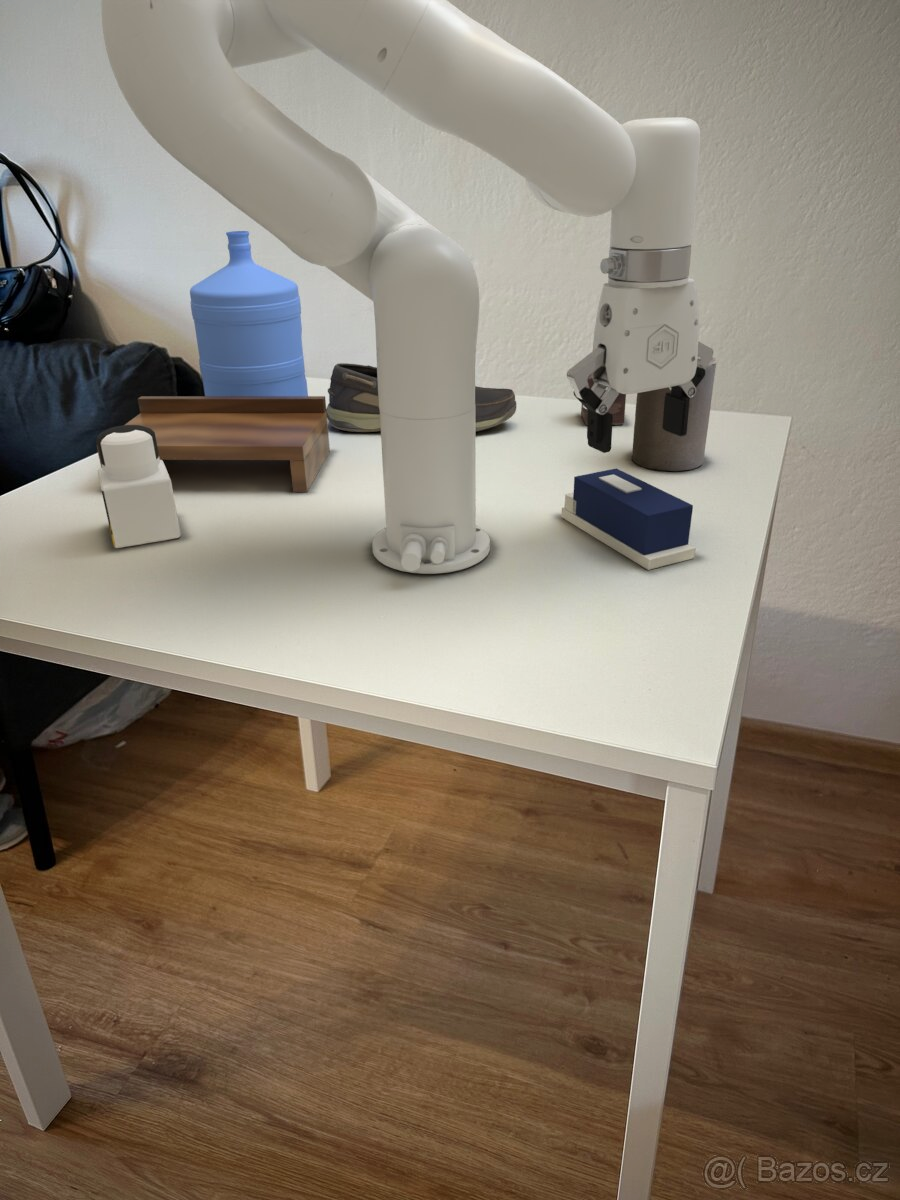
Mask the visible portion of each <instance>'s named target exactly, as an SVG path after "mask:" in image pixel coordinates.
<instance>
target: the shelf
mask: <svg viewBox="0 0 900 1200" xmlns="http://www.w3.org/2000/svg"><path fill="white" fill-rule="evenodd" d="M137 403H138V409H139V414H137V415H136V416H135V417H133V418H132V419H130V420H129V421H127V422H126V423H125V424H124V425H141V426H144V427H148V428H150V429H152V430H153V431H154V432H155V436H156V442H157V447H158V453H159V458H160V460H162V461H163V460H165V461H166V460H168V461H185V460H186V461H204V460H205V461H289V464H290V475H291V484H292V485H291V486H292V492H293V493H308V491H309V490H310V487H311V486H312V484H313V482H314V481H315V479H316V477H317V475H318V474H319V472H320V469H321V468H322V466H323V465H324V463H325V461H326V459H327V458H328V456H329V454H330V452H331V450H330V437H329V427H328V419H327V413H326V409H327V401H326V396H324V395H308V396H205V395H204V396H202V395H201V396H200V395H199V396H197V395H194V396H193V395H191V396H190V395H189V396H188V395H187V396H184V395H183V396H181V395H179V396H177V395H174V396H172V395H171V396H170V395H169V396H168V395H166V396H165V395H164V396H163V395H160V396H157V395H155V396H153V395H150V396H146V395H145V396H144V395H143V396H140V397H138V398H137ZM96 451H97V455H98V459H99V463H100V468H102V464H101V460H100V455H99V451H98V446H97V445H96Z"/></svg>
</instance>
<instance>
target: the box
mask: <svg viewBox="0 0 900 1200" xmlns="http://www.w3.org/2000/svg"><path fill="white" fill-rule="evenodd" d="M587 381H588V384H589V385H588V386H589V388H590V389H591V388H592V386H593V385H594V382H593V378H592V374H591V375H589V377H588V380H587ZM605 391H606V390H605ZM605 391H604V392H603V394H604V393H605ZM603 394H602V395H601V397H602V396H603ZM601 397H600V399H601ZM626 400H627V394H622V393H619V395H618V396H617V398H616V399H615V401H614V402H613V404H612V405H611V407H610V408H609V410H608V411H607V412H608V413H611V414H612V416H613V422H612V425H616V426H617V425H624V424H625V416H626V415H625V413H626V402H627V401H626ZM580 416H581V417H582V419H583V422H584V424H585V425H586V426H587V421H588V409H585V408H584V407H583V404H582V403H581V409H580Z"/></svg>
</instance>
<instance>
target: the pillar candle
mask: <svg viewBox="0 0 900 1200" xmlns="http://www.w3.org/2000/svg"><path fill="white" fill-rule="evenodd" d="M717 363H718V360H717V359H716V357H714V356H712V358H711V360H710V362H709V364H708V367H707V369H705V376H704V378H703V379H702V381H701V382H700V383H699V384H698V386H697V387H696V394H695V395H694V396H693V397H692V398H690V403H689V413H688V424H687V434H686V435H685V436H678V435H676V434H673V433H670V432H668V431H665V430H664V429H663V427H662V425H663V413H664V400H665V396H666V393H667V392H671V390H670V389H669V387H667V388H662V389H657V390H651V391H646V392H640V393H636V403H635V412H634V413H635V414H634V426H633V439H632V451H631V452H632V455H630V458H631V461H633V462H634V463H635V464H637V466H640V467H642V468H645V469H651V470H657V471H665V472H667V471H669V472H680V471H682V472H683V471H689V470H694V469H697V468H700V467H701V466H702V465H703V463H704V459H705V453H706V445H707V437H708V429H709V423H710V422H709V421H710V416H711V407H712V399H713V398H712V397H713V392H714V383H715V376H716V375H715V374H716V368H717Z"/></svg>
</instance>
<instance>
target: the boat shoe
mask: <svg viewBox="0 0 900 1200" xmlns="http://www.w3.org/2000/svg"><path fill="white" fill-rule="evenodd" d="M329 379H330V383H329V387H328V388H327V393H328V401H329V403H328V404H327V405H326V413H327V422H328V423H329V424H330V425H331V426H332V427H333V428H335V429H337V430H339V431H345V432H352V433H371V432H372V433H373V432H381V425H380V409H379V398H378V378H377V366H372V365H370V364H369V365H363V364H357V363H346V362H341V363H340V362H339V363H337V364H335V365H334V366H333V369H332V372H331V376H330V378H329ZM516 411H517V401H516V394H515V392H514V390H513V389H512V388H495V387H483V386H482V387H481V386H476V385H475V433H476V432H480V431H484V430H488V429H491V428H493V427H496V426H499V425H501V424H503V423H505V422H506V421H508V420H510V419H511V418H512V417H513V416H514V415H515V414H516Z"/></svg>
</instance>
